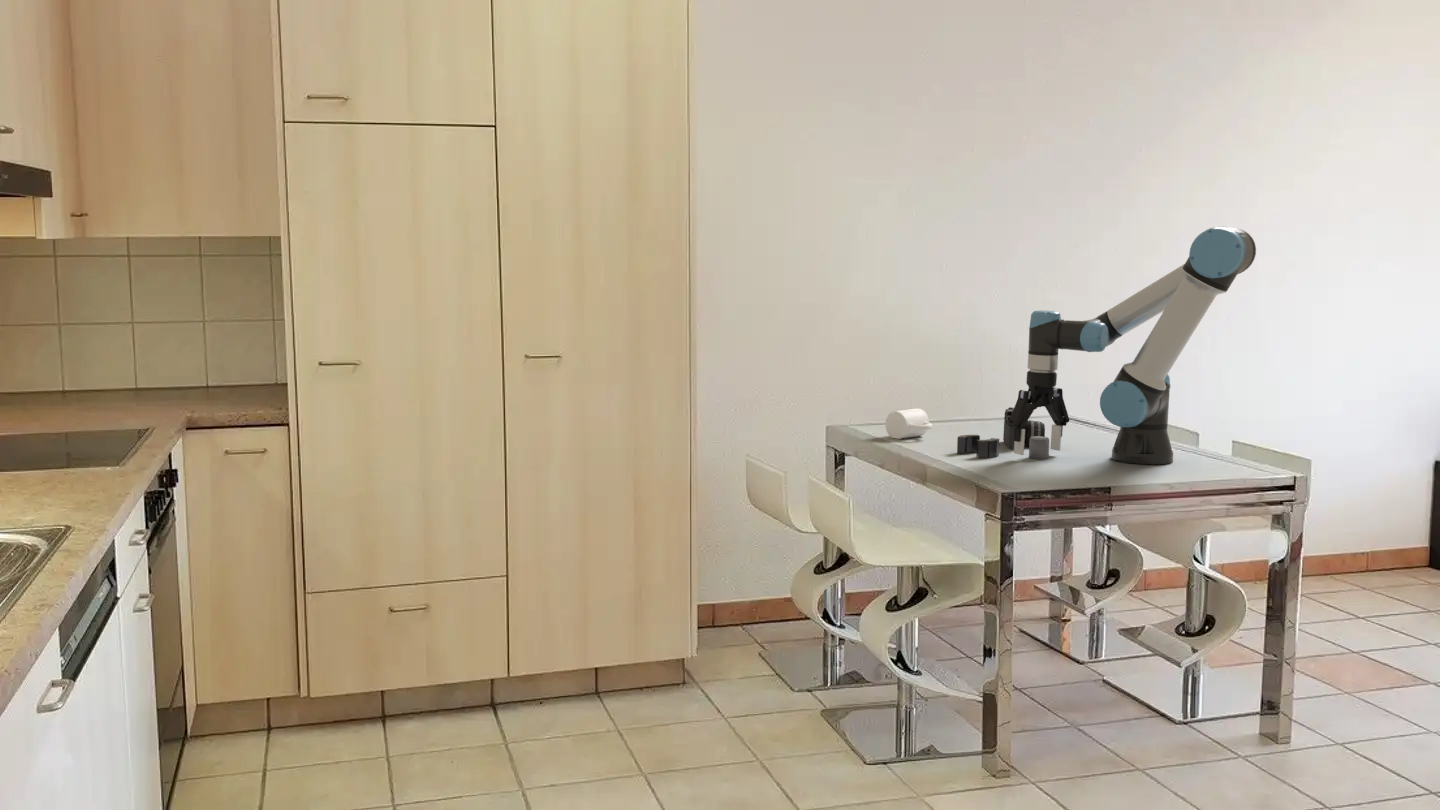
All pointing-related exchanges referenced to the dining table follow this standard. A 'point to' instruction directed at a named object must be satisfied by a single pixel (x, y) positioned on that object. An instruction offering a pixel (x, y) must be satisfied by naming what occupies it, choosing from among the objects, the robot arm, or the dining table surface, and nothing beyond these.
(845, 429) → the dining table surface
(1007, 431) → the camera
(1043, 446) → the grey cylinder block
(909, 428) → the mug
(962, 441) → the clustered grey blocks
